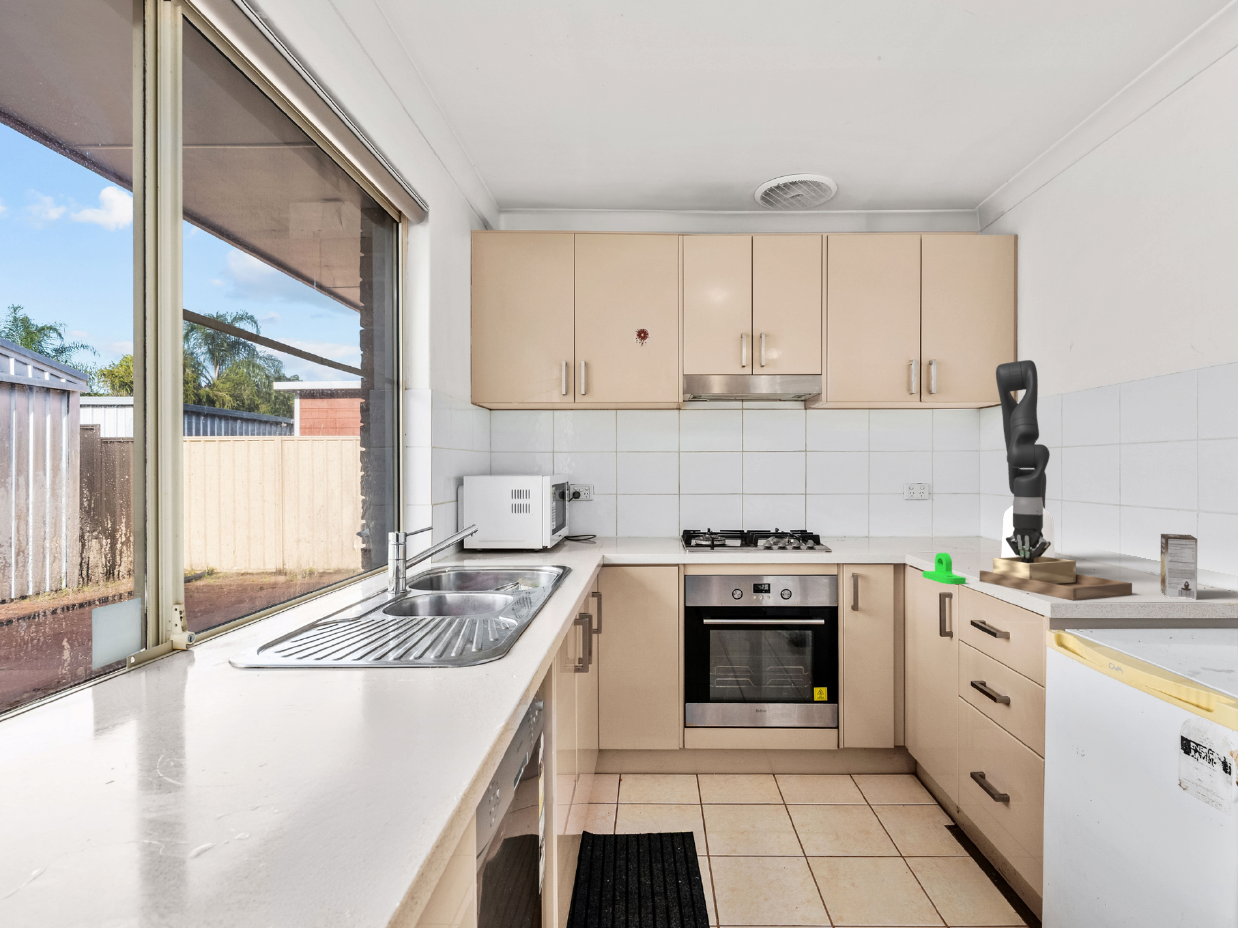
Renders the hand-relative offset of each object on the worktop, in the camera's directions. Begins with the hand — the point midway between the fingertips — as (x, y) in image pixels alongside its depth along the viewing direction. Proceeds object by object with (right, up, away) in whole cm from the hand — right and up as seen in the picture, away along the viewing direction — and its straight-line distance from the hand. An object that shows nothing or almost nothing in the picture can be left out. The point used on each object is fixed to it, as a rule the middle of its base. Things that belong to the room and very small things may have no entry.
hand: (1027, 571), depth 188 cm
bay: (+2, -3, -7) cm, 8 cm away
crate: (+1, -2, -2) cm, 3 cm away
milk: (+11, -4, +18) cm, 22 cm away
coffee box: (+28, -4, -18) cm, 34 cm away
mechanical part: (-23, -4, +4) cm, 23 cm away
